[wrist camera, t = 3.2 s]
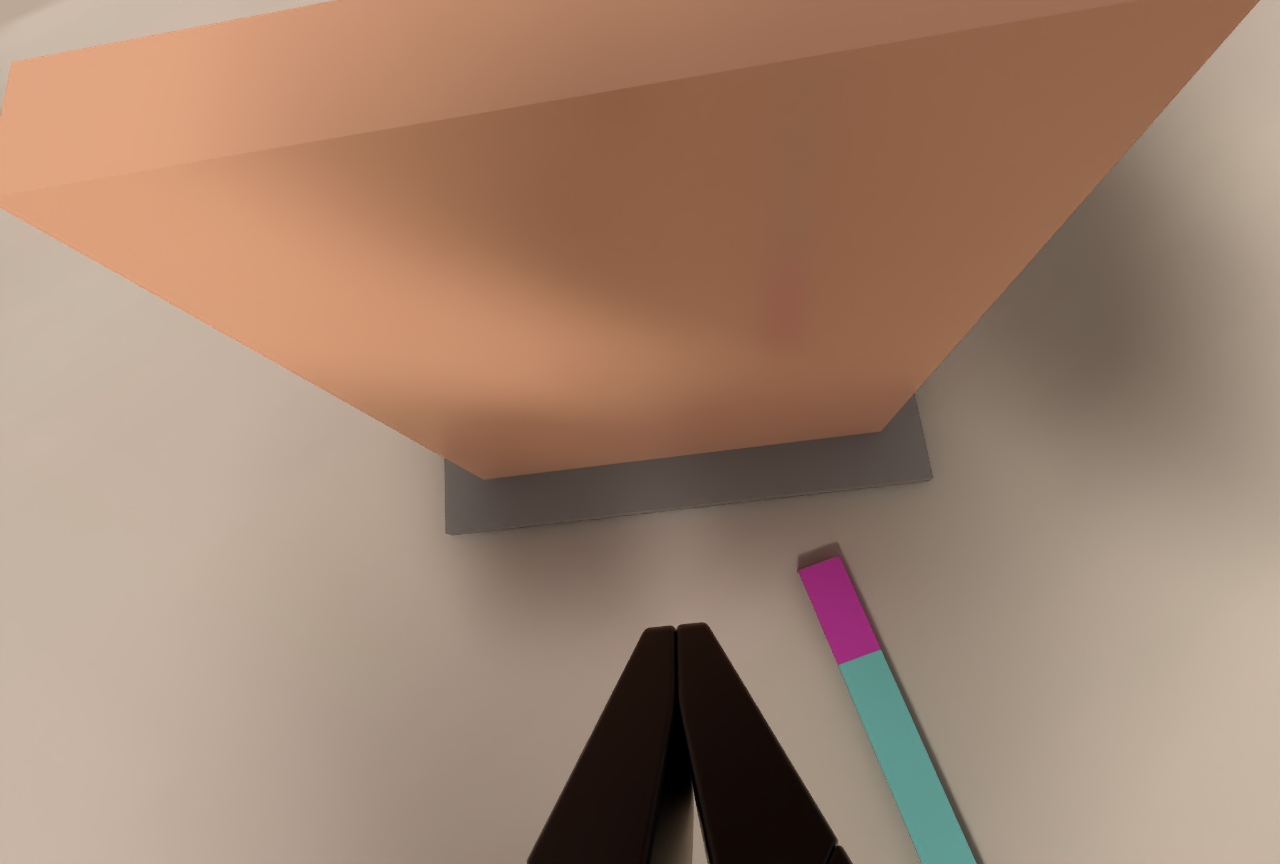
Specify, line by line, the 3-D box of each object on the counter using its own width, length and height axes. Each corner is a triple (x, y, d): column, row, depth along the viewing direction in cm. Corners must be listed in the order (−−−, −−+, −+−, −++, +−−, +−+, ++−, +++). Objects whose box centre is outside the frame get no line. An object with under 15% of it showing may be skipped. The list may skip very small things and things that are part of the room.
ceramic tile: (880, 431, 16) (1281, -24, 5) (483, 479, 17) (-17, 198, 5) (868, 370, 17) (1205, -185, 5) (481, 420, 17) (15, 44, 6)
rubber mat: (927, 480, 16) (933, 477, 16) (452, 535, 17) (445, 533, 17) (806, -73, 21) (807, -86, 21) (442, -5, 22) (437, -16, 22)
